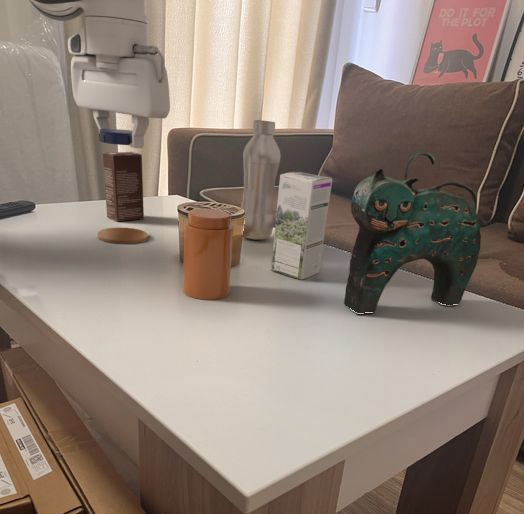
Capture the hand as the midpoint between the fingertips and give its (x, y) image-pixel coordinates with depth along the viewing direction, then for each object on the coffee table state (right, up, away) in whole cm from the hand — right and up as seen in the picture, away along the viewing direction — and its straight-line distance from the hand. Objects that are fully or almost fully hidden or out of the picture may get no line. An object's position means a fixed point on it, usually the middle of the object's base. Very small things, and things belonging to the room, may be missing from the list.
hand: (120, 144), depth 83 cm
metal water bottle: (+21, -12, +14) cm, 28 cm away
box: (-4, -7, +19) cm, 20 cm away
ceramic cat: (+41, -27, -11) cm, 50 cm away
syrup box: (+28, -21, -2) cm, 35 cm away
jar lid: (0, +1, -1) cm, 2 cm away
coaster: (-1, -13, +7) cm, 15 cm away
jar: (+15, -25, -13) cm, 32 cm away
